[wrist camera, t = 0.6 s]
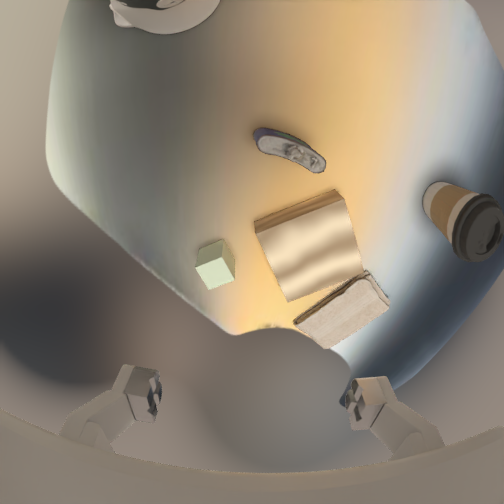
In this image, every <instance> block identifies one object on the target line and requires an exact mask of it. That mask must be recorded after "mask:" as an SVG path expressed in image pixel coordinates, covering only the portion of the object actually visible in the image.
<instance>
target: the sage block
mask: <svg viewBox="0 0 504 504" xmlns="http://www.w3.org/2000/svg"><path fill="white" fill-rule="evenodd" d="M195 268H196V270H197V272H198V273H199V275H200V276H201V278H202V280H203V281H204V283H205V284H206V286H207V288H208V289H209V290H210V289H213V288H215V287H218V286H221V285H223V284H226V283H229V282H231V281H234V280H235V259H234V258H233V256H232V254H231V252H230V250H229V248H228V246H227V244H226V243H225V241H224V239H222V240H220V241H217V242H215V243H213V244H210V245H208V246H205V247H203V248H201V249H199V253H198V257H197V262H196V266H195Z"/></svg>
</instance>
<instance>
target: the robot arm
mask: <svg viewBox="0 0 504 504" xmlns="http://www.w3.org/2000/svg"><path fill="white" fill-rule="evenodd" d="M110 2H111V4H110V5H109V6H110V8H111V9H112V10H113V14H114V19H115V23H116V24H117V25H118V26H119V27H126V28H127V27H137V28H140V29H143V30H145V31H148V32H151V33H156V34H173V33H178V32H182V31H185V30H188V29H190V28H192V27H194V26H196V25H198V24H200V23H201V22H203V21H204V20H205V19H206V18H208V17H209V16H210V15H211V14H212V13H213V11H214V10H215V9H216V7H217V6H218V4H219V2H220V0H110ZM159 377H160V375H159V371H158V370H153V369H148V368H142V367H137V366H131V365H126V364H124V365H123V366H122V368H121V370H120V372H119V374H118V377H117V379H116V381H115V383H114V385H113V387H112V389H111V391H109V390H107V391H106V392H104V393H103V394H101V395H99V396H98V397H96V398H94V399H93V400H92V401H90V402H88V403H86V404H85V405H83V406H81V407H80V408H78V409H76V410H75V411H73V412H71V413H70V414H69V415H68V417H67V419H66V421H65V423H64V425H63V427H62V429H61V431H60V433H59V435H57V434H55V433H52V432H50V431H47V430H45V429H42V428H40V427H38V426H35V425H33V424H31V423H29V422H27V421H25V420H22V419H20V418H18V417H16V416H14V415H12V414H10V413H8V412H6V411H4V410H2V409H0V504H504V427H503V426H497V427H495V428H493V429H490V430H488V431H485V432H483V433H480V434H478V435H475V436H473V437H470V438H467V439H465V440H462V441H459V442H456V443H454V444H451V445H447V446H445V444H444V442H443V440H442V438H441V436H440V433H439V431H438V429H437V427H436V426H435V425H433V424H432V423H430V422H429V421H427V420H426V419H425V418H423V417H421V416H420V415H419V414H417V413H416V412H415V411H413V410H412V409H410V408H409V407H407V406H406V405H404V404H403V403H402V402H398V401H397V398H396V396H395V394H394V392H393V389H392V387H391V385H390V383H389V380H388V378H387V377H386V376H382V377H370V378H357V379H354V380H353V381H352V383H351V387H352V389H350V390H349V391H348V392H347V395H346V400H345V404H346V410H347V412H349V413H350V414H351V416H350V418H349V421H350V424H351V428H352V430H363V429H370V431H371V432H373V434H374V435H375V436H376V437H377V438H378V439H379V440H380V441H382V443H383V444H385V446H386V447H387V448H388V449H389V450H391V452H392V453H393V455H392V457H391V458H390V459H389V460H388V461H387V462H382V463H377V464H371V465H365V466H359V467H352V468H344V469H336V470H327V471H315V472H299V473H238V472H222V471H210V470H201V469H193V468H185V467H178V466H172V465H166V464H161V463H155V462H150V461H145V460H141V459H136V458H131V457H128V456H124V455H119V454H116V453H115V452H114V450H113V448H112V447H111V445H110V443H111V442H112V441H113V440H115V439H116V438H117V437H118V436H119V435H120V434H122V433H123V432H124V431H125V430H126V429H127V428H128V427H130V426H131V425H132V424H133V423H134V422H135V420H136V421H142V422H148V423H155V419H156V416H157V412H158V411H157V407H156V406H157V405H159V404H160V401H161V397H162V385H161V383H160V382H159Z"/></svg>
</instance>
